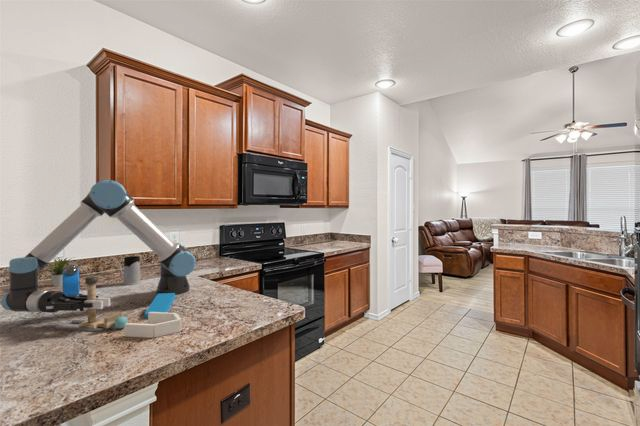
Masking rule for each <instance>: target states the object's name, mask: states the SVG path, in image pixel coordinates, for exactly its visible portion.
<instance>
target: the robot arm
mask: <svg viewBox="0 0 640 426" xmlns="http://www.w3.org/2000/svg"><path fill="white" fill-rule="evenodd" d="M104 214H106V215H107V216H108V217H109V218H116V219H117V220H118V221H120V223H122V225H124V226H125V227H126V228H127V230H129V231H130V232H131V233H133V235H135V236H136V237H137V238H138V239H139V240H140V241H141V242H143V243H144V244H145V246H147V247H148V248H149V249H150V250H151V251H152V252H153V253H154V254H156V255H157V256H158V262H159V265H160V278H159V280H158V281H159V282H158V283H157V288H156V295H157V294H163V293H175V295H180V294H183V293H186V292H189V291H190V284H189V281H188V277H187V276H188V275H190V274H191V273H192V272H193V271H194V270H195V268H196V265H197V259H196V257H195V256H194V254H193V253H192V252H191V251H188V250H186V246H184V245H181V244H180V243H179V242H174V241H172V240H171V238H169V237H168V236H167V235H166V234H165V233H164V232H163V231H162V230H161V229H160V228H159V227H158V226H157V225H156V224H155V223H154V222H153V221H152V220H151V219H149V217H147V215H146V214H145V213H143V211H141V209H139V208H138V207H137V206H136V205H135V199H134V198H133V197H132V196H131V195H130V194H129V193H128V192H127V191H126V189H125V187H124V186H123V185H122V184H121V183H120V182H118V181H115V180H112V179H102V180H99V181H98V182H95V184H94V185H92V187H91V188H90V190H89V192H88V194H86V196H85V197H84V198H83V199H82V200H81V201H80V205H79V206H78V207H77V208H76V209H75V210H74V211H73V212H72V213H71V214H70V215H68V216H67V217H66V218H65V219H64V220H63V221H62V222H61V223H60V224H59V225H57V227H56V228H55V229H53V230H52V231H51V232H50V233H49V234H48V235H46V237H45V238H44V239H42V241H40V242H39V243H38V244H37V245H36V246H35V247H34V248H33V249H31V251H30V252H29V253H27V254H26V255H25V256H23V257H16V258H12V259H10V260H9V262H8V263H9V265H8V266H9V267H8V274H9V275H8V277H9V290H8V291H7V292H5V294H4V295H3V297H2V299H1V300H0V304H1V307H2V308H3V309H4V310H7V311H11V312H18V313H19V312H25V313H26V312H27V313H28V312H29V313H30V312H31V313H39V314H42V313H49V314H50V313H52V314H53V313H57V312H66V311H68V312H70V311H72V312H74V311H78V310H79V312H84V309H87V310H88V309H96V310H102V309H104V307H110V306H111V298H110V297H108V298H107V297H99V295H96V301H94V300H87V294H82V293H79V294H78V295H77V296H70V295H66V296H65V294H64V293H63V291H59V290H39V273H40V272H41V271H42V270H43V269H45V267H47V266H48V264H49V262H50V263H51V261H52V260H54V259H55V257H57V256H58V255H59V253H61V252H62V251H63V250H64V249H65V248H66V247H67V246H68V245H69V244H70V243H71V242H73V240H75V239H76V238H77V237H78V236H79V235H80V234H81V233H82V232H83V231H84V230H85V229H86V228H88V226H89V225H90V224H91V223H92V222H93V221H94V220H96V218H98V217H102V216H103V215H104Z"/></svg>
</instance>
